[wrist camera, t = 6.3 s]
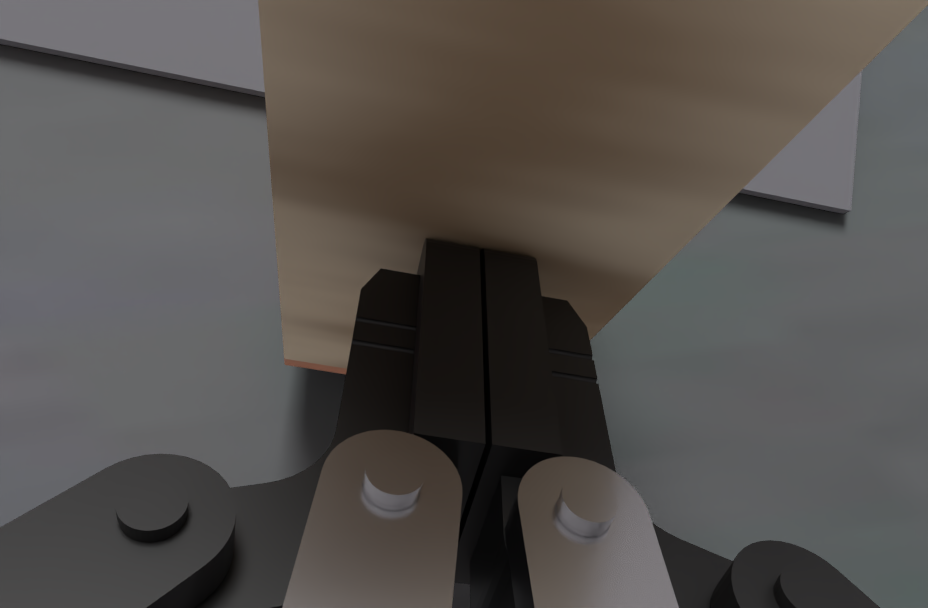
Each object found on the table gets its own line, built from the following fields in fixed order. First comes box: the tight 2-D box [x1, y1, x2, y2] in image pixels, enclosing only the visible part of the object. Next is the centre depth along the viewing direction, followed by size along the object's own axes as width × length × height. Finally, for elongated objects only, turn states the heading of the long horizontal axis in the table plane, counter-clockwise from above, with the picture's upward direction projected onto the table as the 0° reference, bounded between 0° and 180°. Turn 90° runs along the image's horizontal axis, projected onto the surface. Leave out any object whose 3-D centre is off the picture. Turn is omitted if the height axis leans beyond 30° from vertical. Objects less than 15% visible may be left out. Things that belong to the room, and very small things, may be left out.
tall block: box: [258, 0, 928, 374], centre depth 11 cm, size 5×5×14 cm
